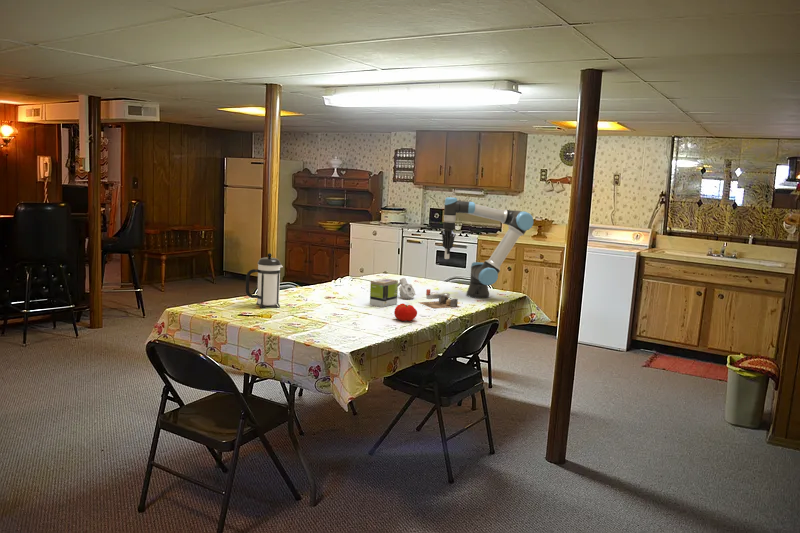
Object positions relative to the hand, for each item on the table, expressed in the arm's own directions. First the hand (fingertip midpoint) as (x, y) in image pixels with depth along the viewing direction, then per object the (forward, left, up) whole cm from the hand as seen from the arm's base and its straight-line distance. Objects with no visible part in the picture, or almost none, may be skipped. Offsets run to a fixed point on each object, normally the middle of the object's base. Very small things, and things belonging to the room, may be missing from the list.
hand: (446, 258), depth 401 cm
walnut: (+12, +23, -25) cm, 36 cm away
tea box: (+47, +5, -27) cm, 54 cm away
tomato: (+55, +45, -27) cm, 76 cm away
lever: (+16, +17, -24) cm, 34 cm away
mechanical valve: (+25, -14, -27) cm, 39 cm away
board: (+16, +19, -26) cm, 36 cm away
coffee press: (+116, -6, -27) cm, 119 cm away
